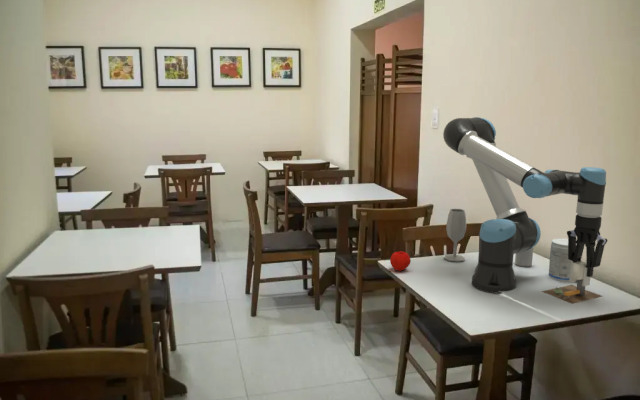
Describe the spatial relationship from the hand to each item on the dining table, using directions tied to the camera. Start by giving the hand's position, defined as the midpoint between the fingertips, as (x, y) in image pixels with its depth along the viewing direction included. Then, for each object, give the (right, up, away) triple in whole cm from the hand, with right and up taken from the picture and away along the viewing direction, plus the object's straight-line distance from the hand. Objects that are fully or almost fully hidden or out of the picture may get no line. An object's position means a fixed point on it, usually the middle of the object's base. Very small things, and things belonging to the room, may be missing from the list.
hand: (581, 283), depth 172 cm
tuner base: (-2, -5, +2) cm, 6 cm away
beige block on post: (-1, -4, 0) cm, 4 cm away
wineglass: (-31, +3, +43) cm, 53 cm away
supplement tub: (+2, -2, +19) cm, 19 cm away
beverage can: (-5, +1, +36) cm, 36 cm away
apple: (-56, 0, +28) cm, 63 cm away
